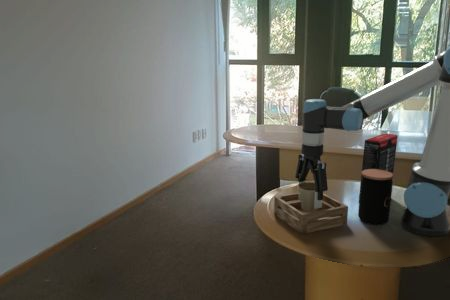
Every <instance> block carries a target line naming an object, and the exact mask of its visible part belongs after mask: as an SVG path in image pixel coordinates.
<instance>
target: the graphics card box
mask: <svg viewBox="0 0 450 300" xmlns="http://www.w3.org/2000/svg"><path fill="white" fill-rule="evenodd" d="M398 137H399V136H398V135H397V134H393V133H382V134H380V135H376V136H374V137H371V138H368V139H364V147H363V154H362V155H363V157H362V165H361V166H362V167H361V172H362V171H363V170H366V169H380V170H385V171H389V172H391V173H392V174H393V175H394V170H395V161H396V160H395V159H396V152H397V145H398V144H397V143H398ZM360 176H361V177H360V179H361V178H362V177H363V176H362V173H361V175H360ZM359 184H360V185H361V182H360V183H359ZM360 185H359V186H360ZM358 195H359V196H358V199H359V198H360V193H358Z"/></svg>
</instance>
